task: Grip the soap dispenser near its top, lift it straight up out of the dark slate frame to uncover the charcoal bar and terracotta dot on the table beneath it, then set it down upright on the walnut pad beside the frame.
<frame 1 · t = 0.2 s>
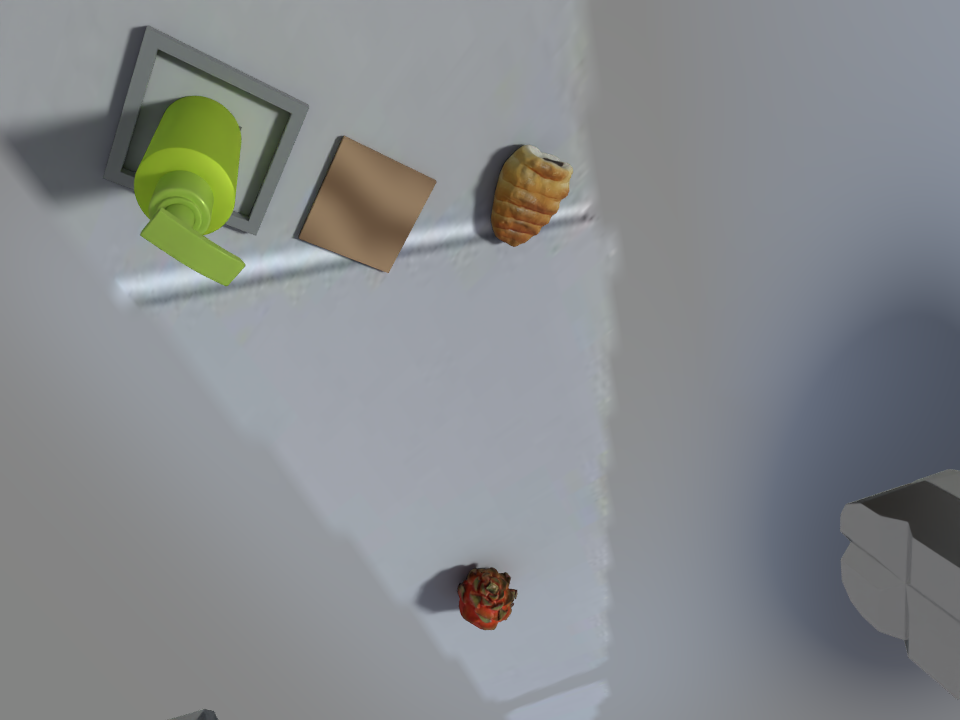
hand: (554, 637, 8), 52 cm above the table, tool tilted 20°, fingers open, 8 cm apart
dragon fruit: (480, 576, 95), on the table
soap dispenser: (208, 138, 51), resting in slate frame
pastry: (525, 187, 61), on the table
slate frame: (207, 138, 51), on the table
walnut pad: (367, 208, 58), on the table
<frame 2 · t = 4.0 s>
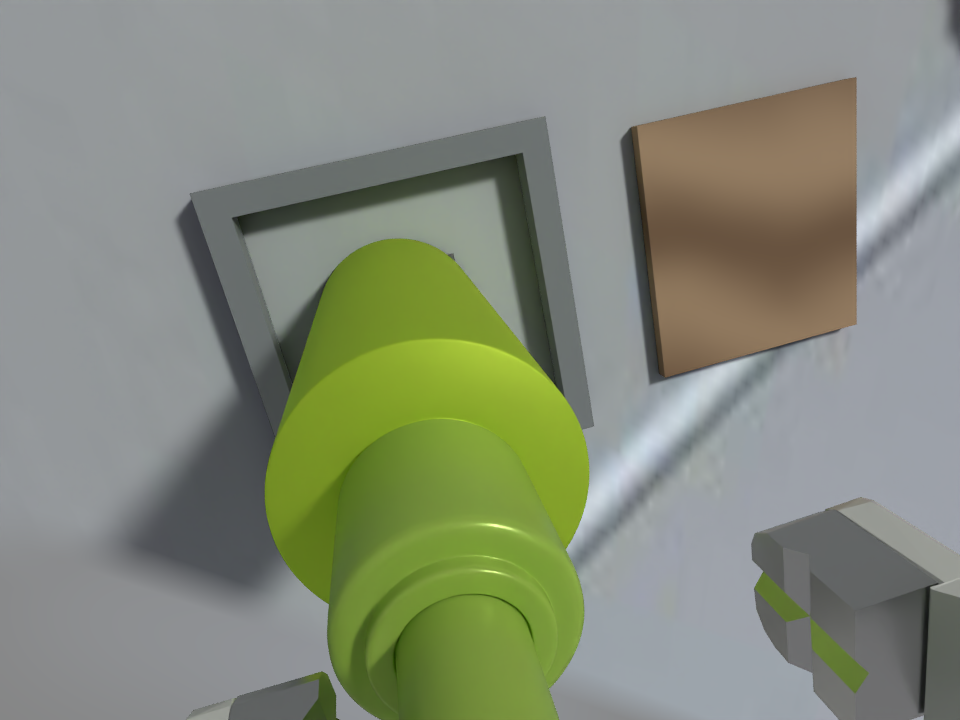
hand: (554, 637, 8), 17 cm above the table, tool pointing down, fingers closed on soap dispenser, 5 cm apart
soap dispenser: (413, 316, 24), resting in slate frame, touching gripper
slate frame: (413, 317, 24), on the table
walnut pad: (749, 232, 26), on the table
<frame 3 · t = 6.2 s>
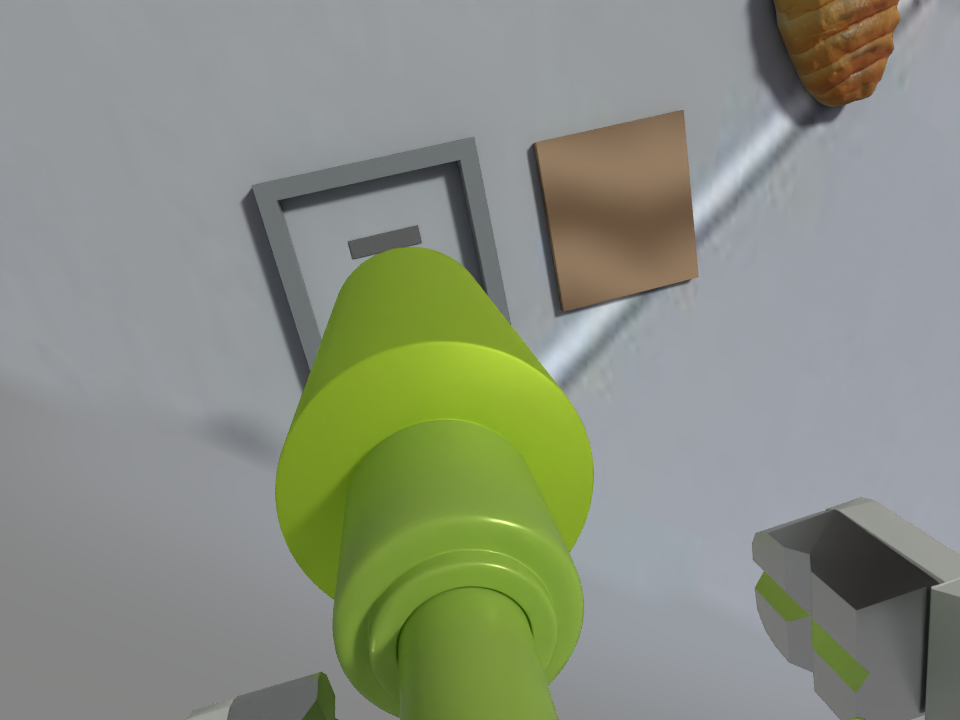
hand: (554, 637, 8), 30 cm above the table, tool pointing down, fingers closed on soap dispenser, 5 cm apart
soap dispenser: (425, 323, 24), point 13 cm above the table, touching gripper
pastry: (822, 12, 37), on the table
slate frame: (392, 267, 36), on the table
walnut pad: (618, 213, 38), on the table
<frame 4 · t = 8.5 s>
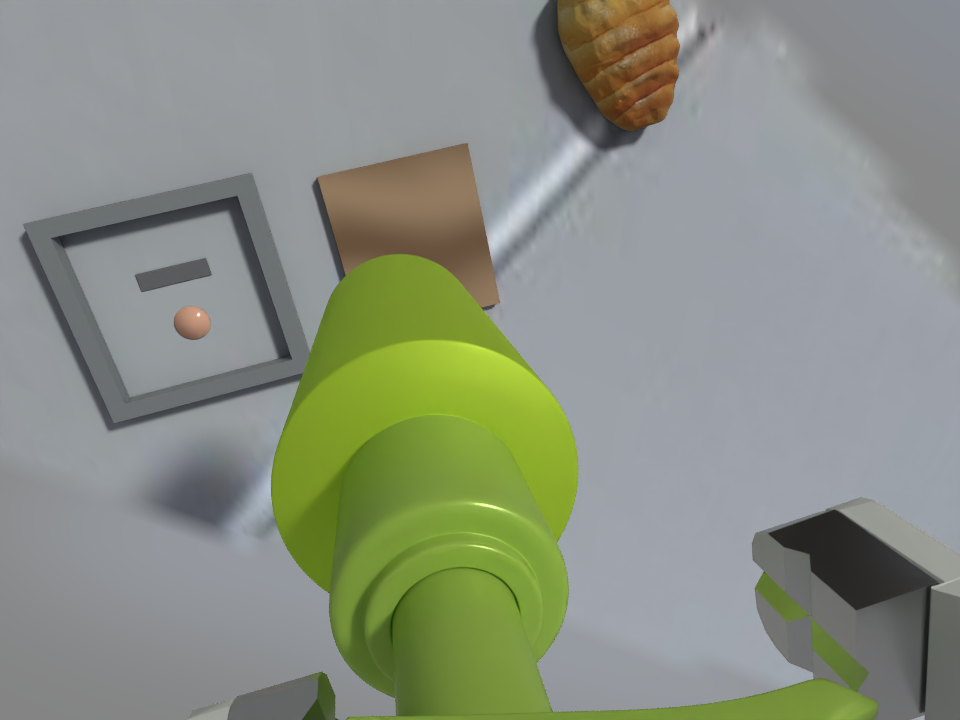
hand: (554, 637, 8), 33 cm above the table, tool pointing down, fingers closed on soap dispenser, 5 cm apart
soap dispenser: (414, 329, 25), point 16 cm above the table, touching gripper
pastry: (613, 39, 38), on the table
slate frame: (183, 299, 37), on the table
walnut pad: (413, 242, 39), on the table
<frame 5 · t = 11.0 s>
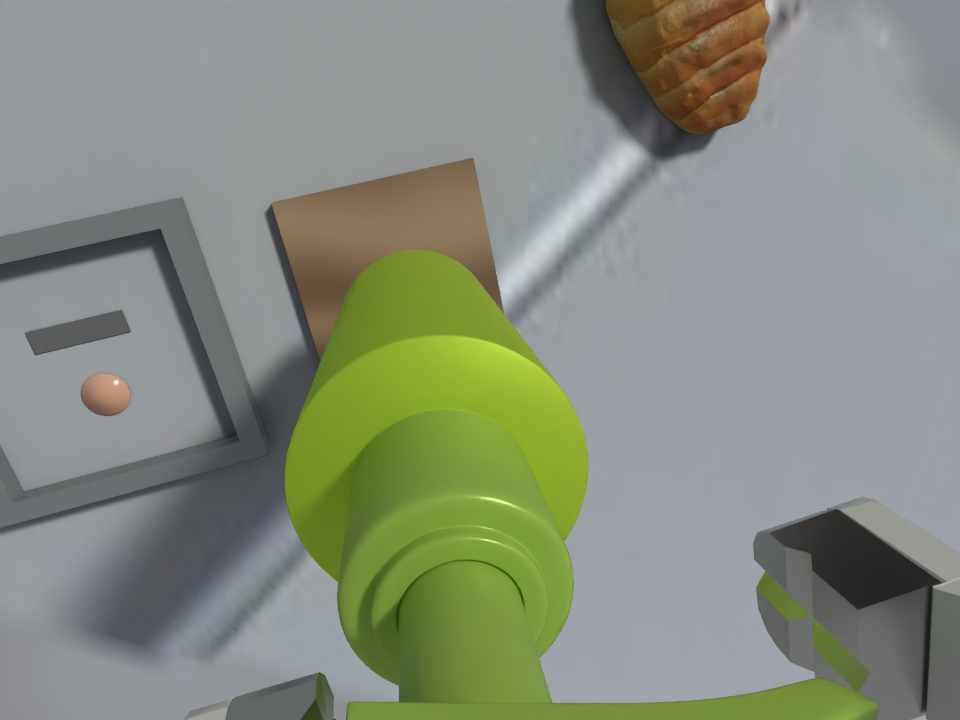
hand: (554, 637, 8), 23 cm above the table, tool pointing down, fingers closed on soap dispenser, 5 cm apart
soap dispenser: (430, 325, 25), point 5 cm above the table, touching gripper
pastry: (676, 14, 29), on the table
slate frame: (92, 363, 28), on the table
walnut pad: (401, 288, 30), on the table
when the fingers open (18 cm above the table, at t = 13.2 s): soap dispenser stays where it is, resting on walnut pad.
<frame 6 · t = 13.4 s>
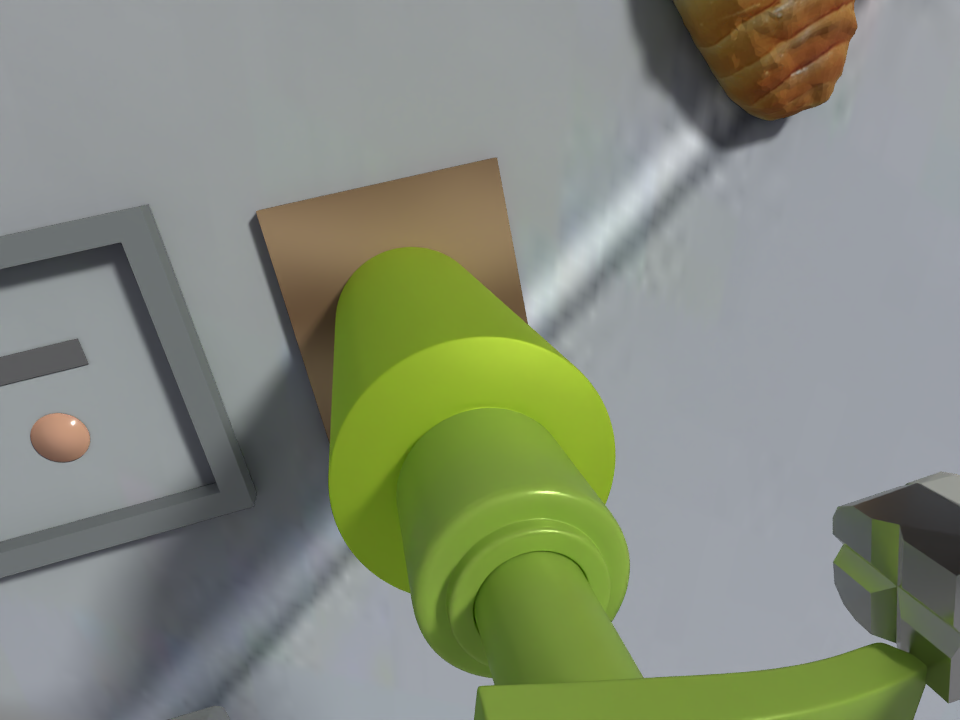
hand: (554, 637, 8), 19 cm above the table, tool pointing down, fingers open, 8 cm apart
soap dispenser: (424, 321, 25), resting on walnut pad
slate frame: (43, 402, 23), on the table
walnut pad: (410, 310, 25), on the table
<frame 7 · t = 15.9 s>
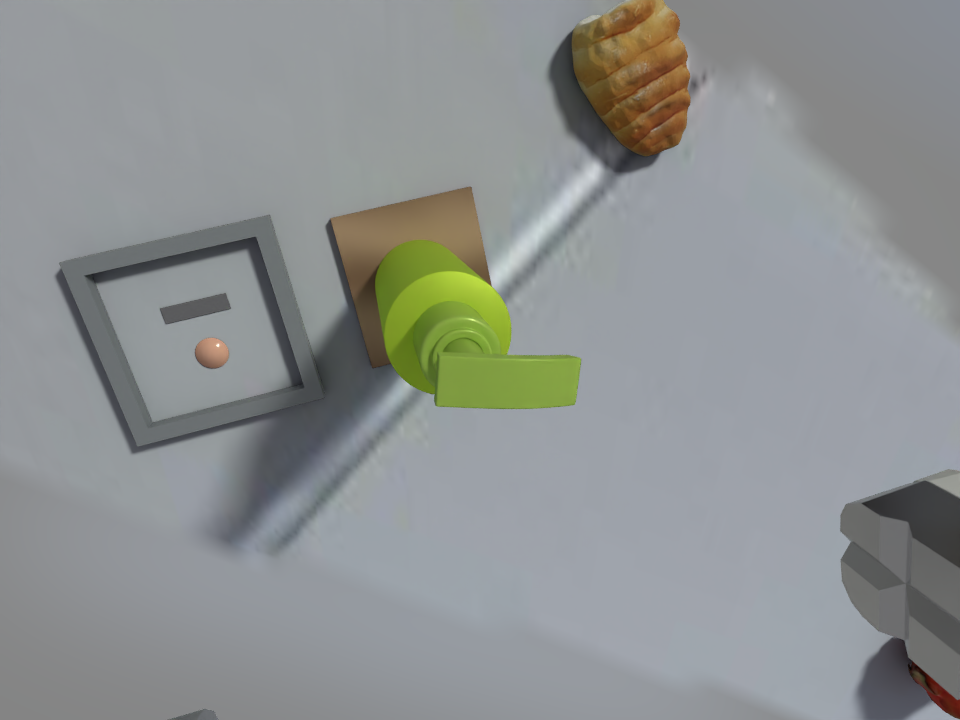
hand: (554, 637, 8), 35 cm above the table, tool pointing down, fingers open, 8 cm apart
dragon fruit: (932, 640, 61), on the table
soap dispenser: (428, 285, 41), resting on walnut pad
pastry: (626, 71, 41), on the table
slate frame: (204, 331, 40), on the table
walnut pad: (419, 278, 41), on the table
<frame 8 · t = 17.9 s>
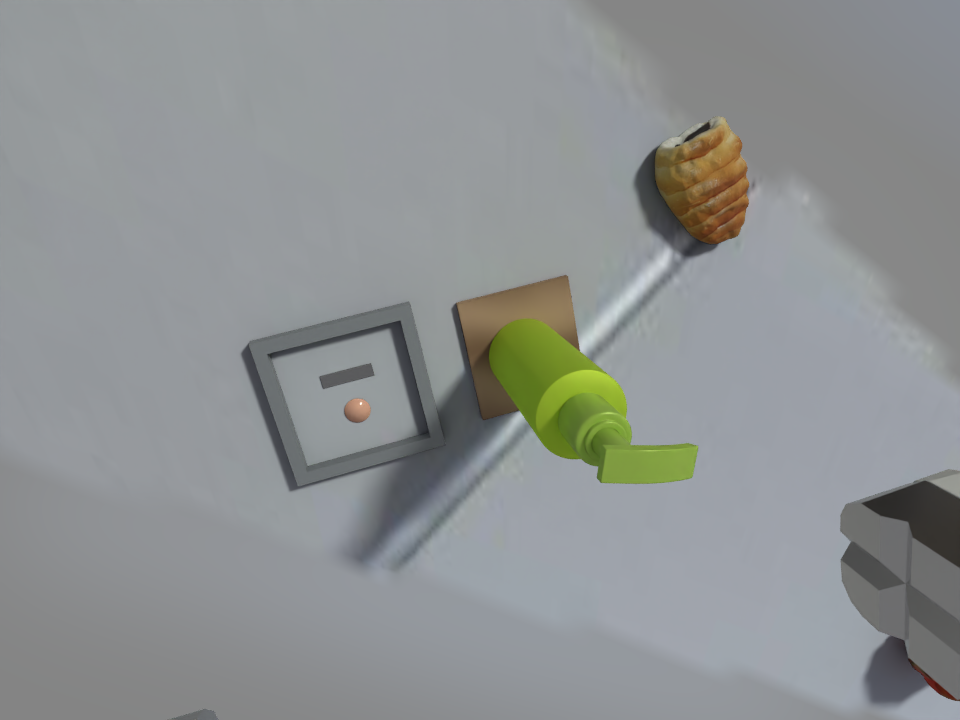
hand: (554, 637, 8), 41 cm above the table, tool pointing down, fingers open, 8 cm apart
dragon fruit: (928, 633, 72), on the table
soap dispenser: (530, 353, 51), resting on walnut pad
pastry: (695, 177, 50), on the table
slate frame: (352, 393, 49), on the table
walnut pad: (522, 348, 51), on the table
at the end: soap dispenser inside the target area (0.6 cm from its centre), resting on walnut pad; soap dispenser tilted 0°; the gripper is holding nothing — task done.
